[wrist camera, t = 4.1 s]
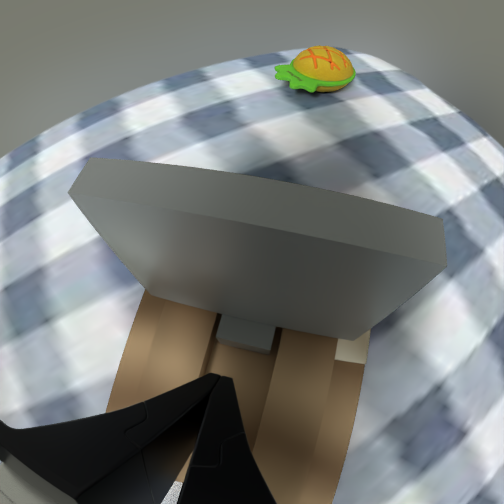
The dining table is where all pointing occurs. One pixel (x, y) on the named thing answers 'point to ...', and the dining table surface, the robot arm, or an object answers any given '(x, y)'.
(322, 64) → the toy pineapple
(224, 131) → the dining table surface
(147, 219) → the switch lever
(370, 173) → the dining table surface
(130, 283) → the dining table surface
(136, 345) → the switch base
